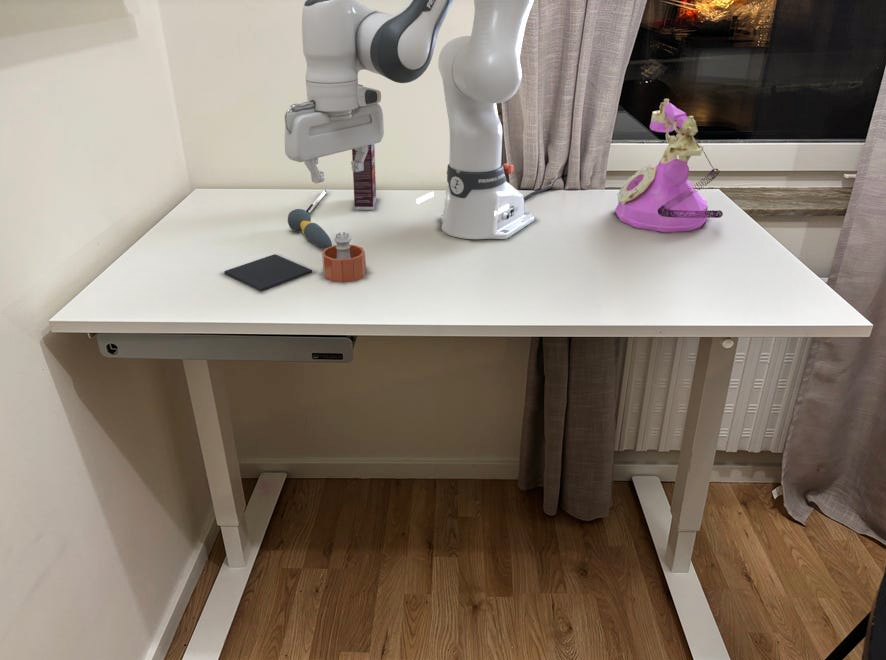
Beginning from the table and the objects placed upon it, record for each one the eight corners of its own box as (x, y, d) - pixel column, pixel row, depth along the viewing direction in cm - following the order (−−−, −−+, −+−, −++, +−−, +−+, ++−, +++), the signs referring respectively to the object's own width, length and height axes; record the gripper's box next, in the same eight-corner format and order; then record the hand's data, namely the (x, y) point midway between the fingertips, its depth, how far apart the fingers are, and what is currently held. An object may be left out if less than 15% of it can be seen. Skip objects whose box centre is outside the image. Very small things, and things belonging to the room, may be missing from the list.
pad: (275, 256, 152) (274, 254, 152) (312, 272, 145) (312, 269, 145) (224, 273, 145) (224, 271, 144) (261, 291, 137) (260, 288, 137)
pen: (303, 216, 173) (303, 212, 172) (324, 191, 189) (324, 187, 189) (307, 217, 173) (307, 212, 172) (327, 192, 189) (327, 187, 188)
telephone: (606, 199, 184) (618, 93, 171) (698, 200, 183) (717, 94, 170) (634, 254, 153) (652, 130, 140) (746, 255, 152) (774, 130, 140)
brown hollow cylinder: (346, 262, 149) (345, 241, 147) (374, 273, 145) (373, 251, 142) (315, 274, 144) (313, 252, 142) (342, 285, 140) (341, 263, 137)
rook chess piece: (329, 276, 143) (326, 236, 139) (340, 267, 147) (337, 229, 143) (349, 279, 142) (347, 240, 138) (360, 271, 146) (358, 232, 142)
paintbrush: (346, 248, 156) (344, 225, 153) (325, 253, 153) (323, 230, 151) (299, 223, 170) (297, 201, 167) (280, 227, 167) (277, 206, 164)
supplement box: (374, 210, 177) (371, 143, 169) (354, 210, 177) (350, 143, 169) (377, 199, 184) (374, 133, 176) (357, 199, 184) (354, 133, 176)
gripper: (295, 108, 120) (303, 192, 127) (387, 90, 132) (390, 168, 139) (272, 103, 123) (281, 185, 130) (364, 86, 136) (367, 162, 143)
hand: (338, 176), depth 135 cm, fingers open, 8 cm apart
